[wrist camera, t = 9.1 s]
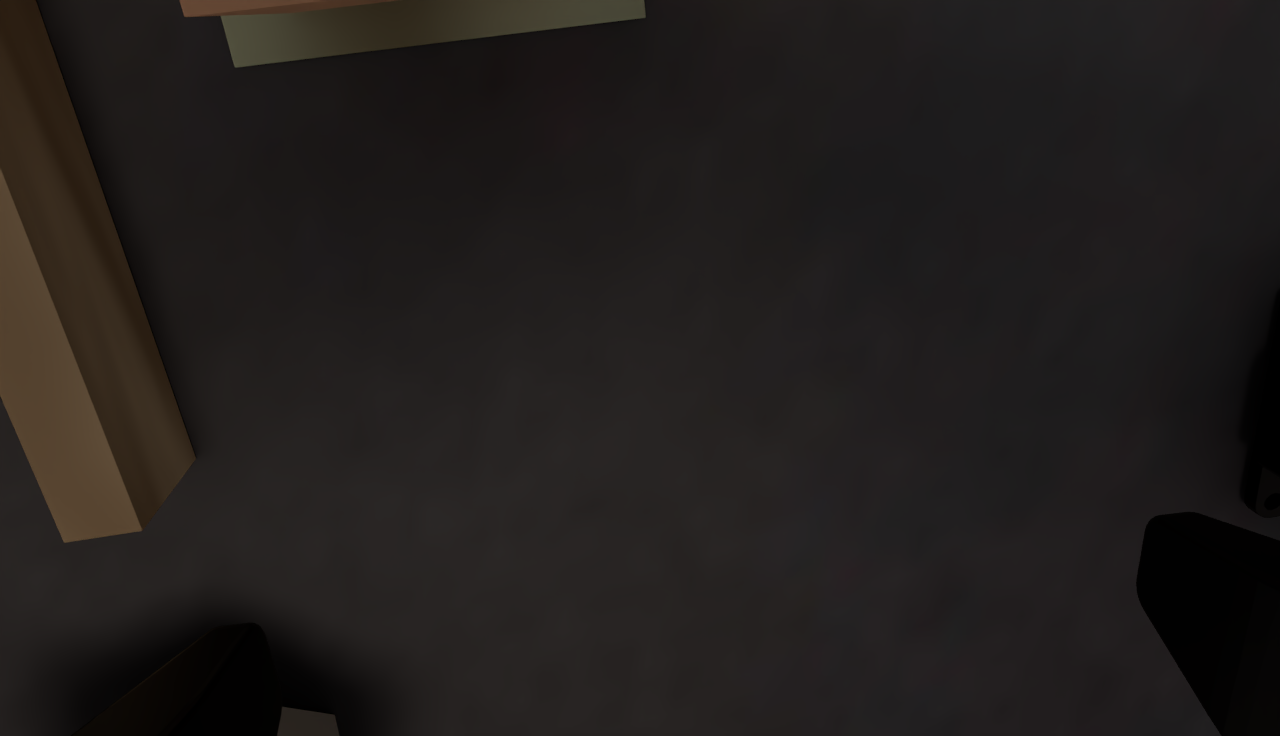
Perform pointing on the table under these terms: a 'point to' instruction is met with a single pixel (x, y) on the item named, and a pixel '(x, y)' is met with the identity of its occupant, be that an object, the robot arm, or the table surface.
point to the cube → (262, 6)
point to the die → (306, 723)
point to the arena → (97, 267)
